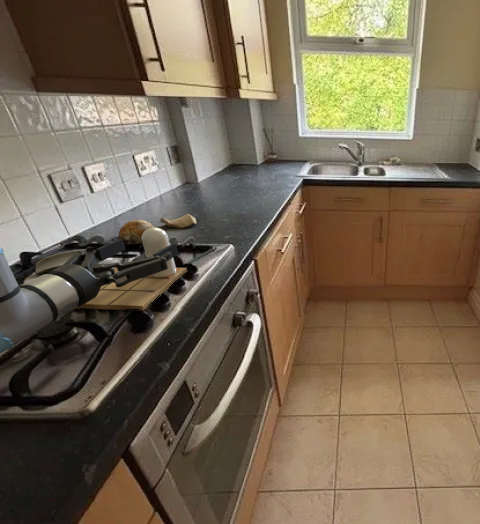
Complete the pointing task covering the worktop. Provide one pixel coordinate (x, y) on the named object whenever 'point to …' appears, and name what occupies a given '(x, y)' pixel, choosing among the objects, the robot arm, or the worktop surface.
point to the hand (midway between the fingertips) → (149, 246)
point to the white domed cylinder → (157, 248)
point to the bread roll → (133, 231)
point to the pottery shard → (180, 221)
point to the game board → (133, 292)
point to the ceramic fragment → (54, 261)
